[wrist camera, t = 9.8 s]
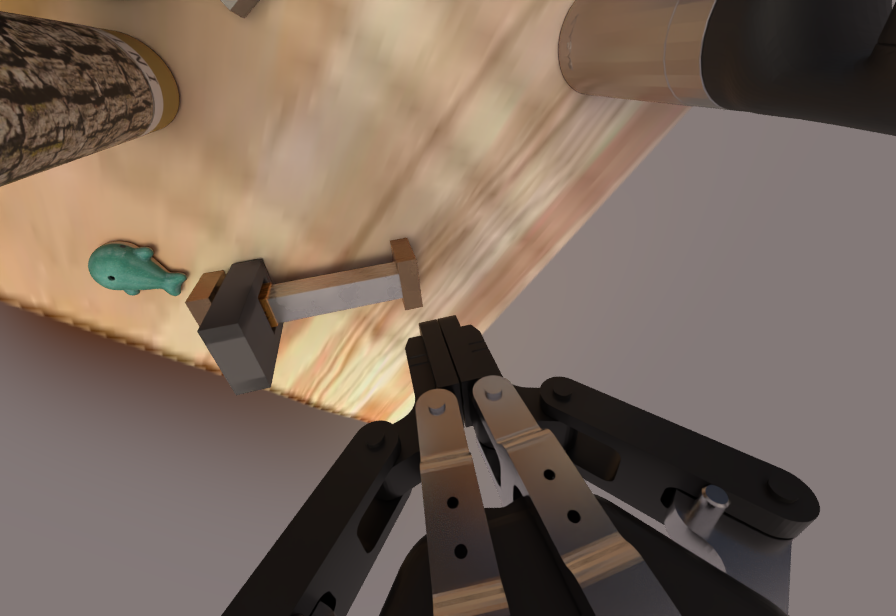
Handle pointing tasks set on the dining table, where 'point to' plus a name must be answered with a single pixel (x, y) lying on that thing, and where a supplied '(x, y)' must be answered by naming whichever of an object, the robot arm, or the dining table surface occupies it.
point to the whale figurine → (131, 269)
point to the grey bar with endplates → (325, 289)
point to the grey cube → (240, 6)
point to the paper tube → (74, 93)
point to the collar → (242, 329)
